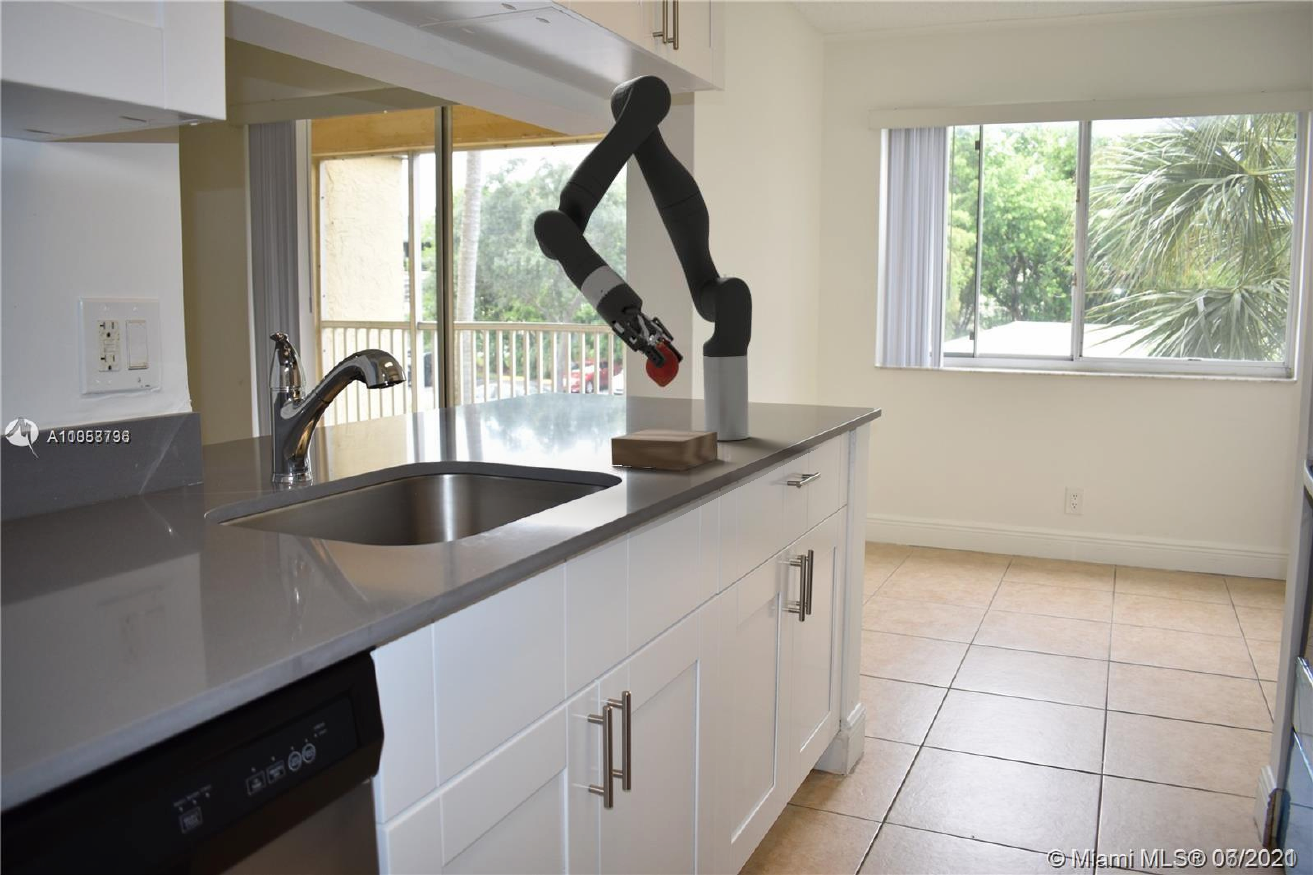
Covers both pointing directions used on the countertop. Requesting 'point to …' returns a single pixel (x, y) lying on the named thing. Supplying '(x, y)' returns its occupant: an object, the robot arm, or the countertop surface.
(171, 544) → the countertop surface
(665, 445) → the walnut base
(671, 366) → the onion
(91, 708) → the countertop surface
